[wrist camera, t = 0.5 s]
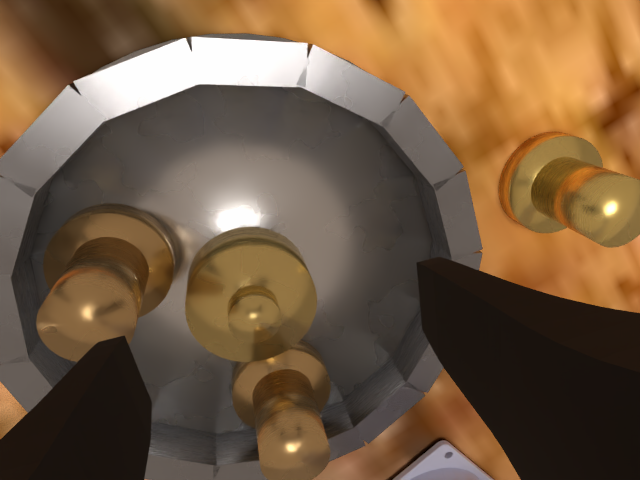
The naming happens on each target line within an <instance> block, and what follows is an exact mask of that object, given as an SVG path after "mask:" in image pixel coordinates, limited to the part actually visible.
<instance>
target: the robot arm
mask: <svg viewBox="0 0 640 480" xmlns="http://www.w3.org/2000/svg"><path fill="white" fill-rule="evenodd" d="M416 264H417V276H418V287H419V299H420V310H421V322H422V330H423V332H424V334H425V336H426V338H427V340H428V342H429V343H430V345H431V347H432V349H433V351H434V353H435V354H436V356H437V358H438V360H439V361H440V363H441V364H442V366H443V367H444V368H445V370H446V371H447V372H448V374H449V375H450V377H451V378H452V379H453V381H454V382H455V383H456V385H457V386H458V387H459V389H460V390H461V392H462V393H463V394H464V396H465V397H466V398H467V400H468V401H469V402H470V404H471V405H472V406H473V408H474V409H475V410H476V412H477V413H478V414H479V416H480V417H481V418H482V420H483V421H484V422H485V424H486V425H487V426H488V428H489V429H490V430H491V432H492V433H493V435H494V436H495V438H496V439H497V441H498V442H499V444H500V445H501V447H502V448H503V450H504V452H505V453H506V455H507V457H508V458H509V460H510V462H511V464H512V465H513V467H514V469H515V470H516V472H517V474H518V475H519V477H520V479H521V480H640V313H634V312H628V311H622V310H615V309H610V308H605V307H599V306H595V305H590V304H586V303H582V302H577V301H573V300H569V299H564V298H561V297H557V296H553V295H550V294H546V293H543V292H540V291H537V290H533V289H530V288H527V287H524V286H521V285H518V284H515V283H512V282H509V281H506V280H503V279H500V278H498V277H495V276H492V275H490V274H487V273H484V272H482V271H479V270H476V269H474V268H471V267H468V266H466V265H463V264H460V263H458V262H455V261H452V260H449V259H446V258H442V257H436V258H432V259H428V260H424V261H420V262H416ZM151 422H152V401H151V399H150V396H149V394H148V391H147V389H146V386H145V384H144V381H143V379H142V377H141V374H140V372H139V369H138V367H137V364H136V362H135V359H134V357H133V354H132V352H131V349H130V347H129V345H128V342H127V340H126V337H125V335H124V336H120V337H116V338H112V339H108V340H104V341H100V342H98V343H96V344H95V345H94V346H93V347H92V348H91V349H90V350H89V351H88V352H87V353H86V354H85V355H84V356H83V357H82V358H81V359H80V360H79V361H78V362H77V363H76V364H75V365H74V366H73V367H72V368H71V369H70V370H69V372H68V373H67V374H66V375H65V376H64V377H63V378H62V379H61V380H60V381H59V382H58V383H57V384H56V385H55V386H54V387H53V388H52V389H51V390H50V391H49V392H48V394H47V395H46V396H45V397H44V398H43V399H42V400H41V401H40V402H39V403H38V404H37V405H36V406H35V407H34V408H33V409H32V410H31V411H30V412H29V413H28V414H26V415H25V416H24V417H23V418H22V419H21V420H20V421H19V422H18V423H17V424H16V425H15V426H14V427H13V428H12V429H11V430H10V431H9V432H8V433H7V434H6V435H5V436H4V437H3V438H2V439H1V440H0V480H144V478H145V472H146V466H147V460H148V454H149V448H150V442H151ZM393 480H494V479H492V478H491V477H490V476H489V475H488V474H486V473H485V472H484V471H483V470H482V469H480V468H479V467H478V466H477V465H476V464H474V463H473V462H472V461H471V460H469V459H468V458H467V457H466V456H465V455H463V454H462V453H461V452H460V451H459V450H457V449H456V448H455V447H454V446H453V445H451V444H450V443H449V442H448V441H445V440H442V441H439V442H437V443H436V444H435V445H434V446H432V447H431V448H430V449H429V450H428V451H426V452H425V453H424V454H423V455H422V456H420V457H419V458H418V459H417V460H416V461H414V462H413V463H412V464H411V465H409V466H408V467H407V468H406V469H405V470H403V471H402V472H401V473H400V474H399V475H397V476H396V477H395V478H394V479H393Z"/></svg>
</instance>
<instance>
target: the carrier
mask: <svg viewBox="0 0 640 480" xmlns="http://www.w3.org/2000/svg"><path fill="white" fill-rule="evenodd" d="M73 82H74V83H73V84H70V85H68V86H67V87H66V88H65V89H64V90H63V91H62V92H61V93H60V94H59V96H58V97H57V98H56V99H55V100H54V101H53V102H52V103H51V104H50V105H49V106H48V108H47V109H46V110H45V111H44V112H43V113H42V114H41V115H40V116H39V117H38V118H37V119H36V121H35V122H34V123H33V124H32V125H31V126H30V127H29V128H28V129H27V130H26V131H25V132H24V134H23V135H22V136H21V137H20V138H19V139H18V140H17V141H16V142H15V143H14V144H13V145H12V147H11V148H10V149H9V150H8V151H7V152H6V153H5V154H4V155H3V156H2V157H1V158H0V381H1V383H2V384H3V385H4V386H5V387H6V388H7V389H8V391H9V392H10V393H11V394H12V395H13V396H14V397H15V399H16V400H17V401H18V402H19V403H20V404H21V405H22V407H23V408H24V409H25V410H26V411H27V412H28V413H29V412H30V411H31V410H32V409H33V408H34V407H35V406H36V405H37V404H38V403H39V402H40V401H41V400H42V399H43V398H44V397H45V396H46V395H47V394H48V392H49V391H50V390H51V389H52V388H53V387H54V386H55V385H56V384H57V383H58V382H59V381H60V380H61V379H62V378H63V377H64V376H65V375H66V374H67V373H68V372H69V370H70V369H71V368H72V367H73V366H74V365H75V364H76V363H77V362H78V361H79V360H80V359H81V358H82V357H83V356H84V355H85V354H86V353H87V352H88V351H89V350H90V349H91V348H92V347H93V346H94V345H95V344H96V343H98V342H100V341H104V340H108V339H112V338H116V337H120V336H124V335H125V337H126V340H127V342H128V345H129V347H130V349H131V352H132V354H133V357H134V359H135V362H136V364H137V367H138V369H139V372H140V374H141V377H142V379H143V381H144V384H145V386H146V389H147V391H148V394H149V396H150V399H151V401H152V422H151V442H150V448H149V454H148V460H147V466H146V472H145V478H144V479H149V480H311V479H313V478H315V477H316V476H318V475H319V474H320V473H321V472H322V471H323V470H324V469H325V467H326V466H327V464H328V462H329V461H332V460H334V459H336V458H339V457H341V456H343V455H345V454H348V453H350V452H352V451H354V450H357V449H359V448H361V447H363V446H365V444H364V441H366V442H367V443H368V444H369V443H370V442H371V441H372V440H373V439H375V438H376V437H377V436H378V435H379V434H380V433H382V432H383V431H384V430H385V429H386V428H388V427H389V426H390V425H391V424H392V423H393V422H395V421H396V420H397V419H398V418H399V417H401V416H402V415H403V414H404V413H405V412H406V411H408V410H409V409H410V408H411V407H412V406H414V405H415V404H416V403H417V402H418V401H419V400H421V399H422V398H423V397H424V396H425V394H424V393H423V392H427V393H428V392H429V390H430V388H431V387H432V385H433V383H434V382H435V380H436V379H437V377H438V375H439V374H440V372H441V371H442V369H443V366H442V364H441V363H440V361H439V360H438V358H437V356H436V354H435V353H434V351H433V349H432V347H431V345H430V343H429V342H428V340H427V338H426V336H425V334H424V332H423V330H422V322H421V310H420V299H419V287H418V276H417V264H416V262H420V261H424V260H428V259H432V258H436V257H442V258H446V259H449V260H452V261H455V262H458V263H460V264H463V265H466V266H468V267H471V268H474V269H476V270H479V267H480V262H481V257H482V252H480V251H479V250H481V249H482V244H481V240H480V235H479V230H478V226H477V221H476V217H475V212H474V207H473V203H472V198H471V194H470V189H469V184H468V180H467V175H466V171H465V170H463V169H462V168H463V165H462V164H461V163H460V161H459V160H458V159H457V157H456V156H455V155H454V153H453V152H452V151H451V150H450V148H449V147H448V146H447V144H446V143H445V142H444V140H443V139H442V138H441V136H440V135H439V134H438V133H437V131H436V130H435V129H434V127H433V126H432V125H431V123H430V122H429V121H428V119H427V118H426V117H425V116H424V114H423V113H422V112H421V110H420V109H419V108H418V106H417V105H416V104H415V102H414V101H413V100H412V99H411V97H410V96H409V95H406V94H405V92H404V91H402V90H400V89H398V88H396V87H394V86H392V85H391V84H389V83H387V82H385V81H383V80H381V79H379V78H377V77H375V76H373V75H371V74H369V73H367V72H366V71H364V70H362V69H361V68H359V67H357V66H356V65H354V64H353V63H351V62H349V61H347V60H345V59H343V58H340V57H338V56H336V55H333V54H331V53H329V52H327V51H325V50H323V49H321V48H319V47H317V46H315V45H313V44H308V43H299V42H295V41H292V40H288V39H284V38H278V37H270V36H262V35H254V34H207V35H201V36H194V37H188V38H182V39H175V40H170V41H167V42H164V43H161V44H157V45H154V46H151V47H148V48H144V49H141V50H138V51H135V52H133V53H131V54H129V55H127V56H125V57H122V58H120V59H118V60H116V61H114V62H112V63H110V64H108V65H106V66H104V67H102V68H100V69H99V70H97V71H96V72H94V73H93V74H91V75H89V76H86V77H83V78H81V79H78V80H76V81H73ZM363 440H364V441H363Z"/></svg>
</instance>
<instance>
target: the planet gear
mask: <svg viewBox="0 0 640 480" xmlns="http://www.w3.org/2000/svg"><path fill="white" fill-rule="evenodd" d="M499 199H500V202H501V205H502V207H503V209H504V211H505V212H506V214H507V215H508V216H509V217H510V218H512V219H513V220H515V221H516V222H518V223H520V224H521V225H523V226H525V227H526V228H528V229H530V230H532V231H535V232H539V233H553V232H557V231H560V230H563V229H565V228H567V227H568V228H570V229H572V230H574V231H575V232H577V233H579V234H581V235H583V236H585V237H587V238H589V239H591V240H592V241H594V242H596V243H598V244H600V245H602V246H605V247H619V246H622V245H625V244H627V243H629V242H630V241H632V240H633V239H635V238H636V237H637V236H638V235H639V234H640V180H638V179H635V178H632V177H629V176H626V175H623V174H620V173H617V172H614V171H611V170H608V169H605V168H603V165H602V160H601V157H600V155H599V153H598V151H597V150H596V148H595V147H594V146H593V145H592V144H591V143H590V142H588V141H586V140H584V139H582V138H578V137H575V136H571V135H567V134H564V133H560V132H547V133H542V134H539V135H536V136H534V137H532V138H530V139H529V140H527V141H525V142H524V143H523V144H522V145H520V146H519V147H518V148H517V149H516V150H515V151H514V153H513V154H512V155H511V156H510V158H509V159H508V161H507V162H506V164H505V166H504V168H503V171H502V174H501V177H500V182H499Z"/></svg>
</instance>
